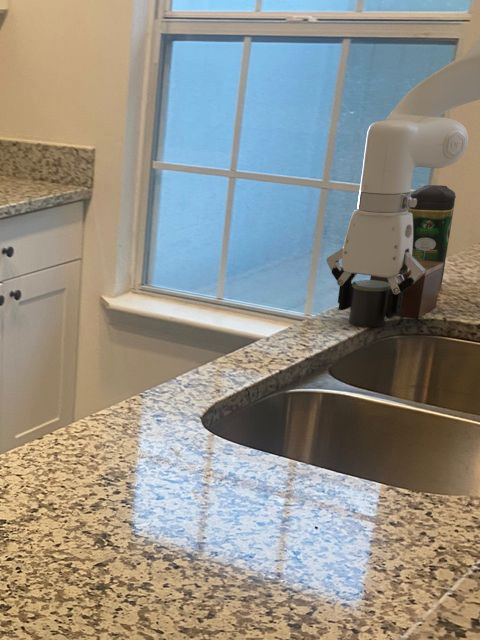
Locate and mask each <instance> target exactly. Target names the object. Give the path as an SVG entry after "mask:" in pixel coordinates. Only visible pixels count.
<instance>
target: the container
mask: <svg viewBox="0 0 480 640" xmlns="http://www.w3.org/2000/svg"><path fill="white" fill-rule="evenodd" d="M352 287H353V293H352V300H351V307H350V308H349V316H348V323H349V324H350V325H352V326H355V327H361V328H379V327H383V326H384V325H385V321H386V317H385V314H386V307H387V301H388V295H389V290H390V289H391V286H390V284H389V283H388V282H384V281H377V280H370V279H360V280H359V279H358V280H355V281H352Z"/></svg>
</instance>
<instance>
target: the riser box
mask: <svg viewBox="0 0 480 640" xmlns="http://www.w3.org/2000/svg"><path fill="white" fill-rule="evenodd" d="M416 260H417V261H418V262H419V263H420V264H421V265H422V266H423V267H424V269H425V273H424V274H423V275H422V276H421V277H420V278H419V279H418V280H417V281H416V283H415V284H413V285H412V286H411V287H409V288H408V289H407V290H406V291H404V292H403V298H402V305H401V310H400V312H399V313H398V315H397V316H399V317H404V318H405V317H407V318H414V319H420V318H422V317H423V316H425V315H426V314H428V313H430V312H431V311H433V310H435V309H436V308H437V305H438V298H439V292H440V288H441V287H440V281H441V275H442V269H443V263H444V262H437V261H427V260H418V259H416ZM402 275H403V277H404V280H405V279H407V278H408V277H409V276H410V275H411V270H409V272H407V273H405V274H402ZM369 280H377V281H384V282H388V283H389V281H388V279H387V278H384V277H377V276H370V279H369ZM439 287H440V288H439ZM390 293H392V289H390V290H389V294H390Z"/></svg>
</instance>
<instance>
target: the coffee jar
mask: <svg viewBox="0 0 480 640" xmlns="http://www.w3.org/2000/svg"><path fill="white" fill-rule="evenodd" d="M410 193H411V197H412V198H416V199H417V205H416V206H415V207H410V208H409V210H407V212H409V213H412V216H413V249H412V256H413V257H414V258H415V259H418V260H427V261H437V262H444V263H443V269H442V275H441V281H440V287H439V289H440V288H441V287H442V284H443V279H444V274H445V273H444V272H445V266H446V260H447V253H448V248H449V241H450V236H451V229H452V224H453V216H454V210H455V203H456V202H455V201H456V198H457V196H456V192H455V191H454V190H452V189H451V188H449V187H448V186H447V185H439V184H426V185H423V186H422V187H420V188H418V189H417V188H416V189H415V190H413V191H412V192H410Z"/></svg>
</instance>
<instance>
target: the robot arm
mask: <svg viewBox="0 0 480 640" xmlns="http://www.w3.org/2000/svg"><path fill="white" fill-rule="evenodd" d="M475 101H480V35H479V36H478V37H477V39H476V40H475V41H474V42H473V43H472V45H471V46H470V47H469V49H468V50H467V51H466V52H464V54H463V55H461V56H460V57H458V58H457V59H455V60H453V61H451V62H450V63H448V64H446V65H445V66H443V67H442V68H440V69H438V70H437V71H435V72H434V73H432V74H431V75H429V76H428V77H426V78H424V79H422V80H421V81H420V82H419V83H418V84H416V85H415V86H414V87H412V88H411V89H410V90H409V91H408V92H406V94H405V95H404V96H403V97H402V99H400V101H399V102H398V103H397V105H396V106H395V107H394V108H393V110H392V111H390V113H389V114H388V116H387V117H386V118H385V120H377V121H375V122H373V123H371V124H370V125H369V127H368V129H367V133H366V140H365V145H364V146H365V147H364V155H363V163H362V170H361V178H360V184H359V185H360V186H359V194H358V201H357V209H354V210H353V212H352V214H351V217H350V220H349V223H348V226H347V230H346V234H345V238H344V241H343V247H342V248H340V249H339V250H337V251H336V252H333V253H332V254H331V255H329V256H327V258H326V259H325V262H326V263H327V265H328V268H329V269H330V270H331V275H332V276H333V277H334V279H335V280H336V284H337V285H338V288H339V289H338V297H337V304H338V310H339V311H344V310H347V309H350V308H351V300H352V293H353V287H352V283H353V280H354V279H355V277H356V276H357V275H362V276H369V277H371V276H377V277H384V278H387V279H388V281H389V284H390V286H391V289H392V293H390V294H389V295H388V301H387V307H386V314H385V319H386V318H387V319H391V318H394V317H397V316H398V313H399V312H400V310H401V305H402V298H403V292H404V291H406V290H407V289H408V288H409V287H411V286H412V285H413V284H415V283H416V281H417V280H418V279H419V278H420V277H421V276H422V275H423V274H424V273H425V269H424V267H423V266H422V265H421V264H420V263H419V262H418V261H417V260H416V259H415V258H414V257H413V256H412V249H413V216H412V213H409V212H407V210H409V208H410V207H415V206H416V205H417V199H416V198H412V197H411V193H412V192H411V189H412V181H413V175H414V169H415V168H427V169H445V168H447V167H450V166H452V165H454V164H455V163H457V162H458V161H459V160H460V159H461V158H462V157H463V156H464V154H465V153H466V151H467V149H468V146H469V134H468V131H467V128H466V127H465V126H464V125H463V124H462V123H461V122H459V120H455V119H454V118H449V117H442V115H444V114H445V113H447V112H449V111H451V110H453V109H455V108H458V107H461V106H463V105H467V104H470V103H472V102H475ZM440 116H441V117H440ZM340 260H341V261H340ZM340 262H341V265H340ZM409 270H411V275H410V276H409V277H408V278H407V279H405V280H404V277H403V275H402V274H405V273H407V272H409Z"/></svg>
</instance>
